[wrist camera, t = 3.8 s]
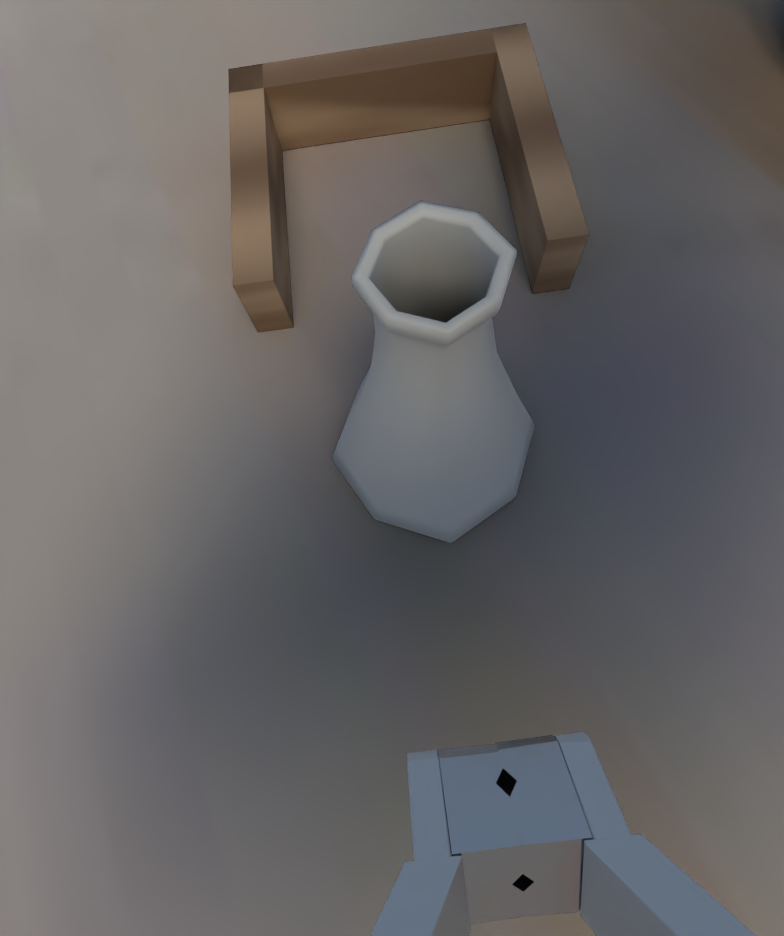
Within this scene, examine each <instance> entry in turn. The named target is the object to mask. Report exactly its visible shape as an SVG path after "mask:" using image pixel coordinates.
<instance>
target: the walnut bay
mask: <svg viewBox="0 0 784 936" xmlns="http://www.w3.org/2000/svg"><path fill="white" fill-rule="evenodd" d="M229 118H230V168H231V219H232V269H233V287H234V289H235V291H236V293H237V294H238V296H239V298H240V300H241V302H242V304H243V305H244V307H245V309H246V311H247V313H248V315H249V317H250V318H251V320H252V322H253V324H254V326H255V328H256V329H257V331H258V332H263V331H270V330H278V329H285V328H292V327H293V314H292V298H291V282H290V267H289V251H288V235H287V220H286V204H285V188H284V172H283V157H282V150H288V149H295V148H301V147H308V146H315V145H321V144H328V143H335V142H341V141H348V140H355V139H361V138H368V137H374V136H381V135H388V134H394V133H401V132H408V131H414V130H421V129H428V128H434V127H441V126H448V125H454V124H461V123H468V122H474V121H481V120H488V119H490V122H491V126H492V131H493V135H494V139H495V143H496V147H497V151H498V155H499V159H500V163H501V167H502V171H503V175H504V179H505V183H506V188H507V192H508V196H509V200H510V204H511V208H512V212H513V216H514V220H515V224H516V228H517V232H518V236H519V240H520V245H521V249H522V253H523V257H524V261H525V265H526V269H527V273H528V277H529V281H530V285H531V289H532V293H540V292H547V291H554V290H561V289H568V288H569V287H570V284H571V282H572V279H573V276H574V274H575V271H576V268H577V266H578V263H579V260H580V258H581V255H582V253H583V250H584V247H585V245H586V242H587V239H588V237H589V232H588V229H587V225H586V222H585V219H584V215H583V212H582V209H581V205H580V202H579V199H578V195H577V192H576V189H575V185H574V182H573V179H572V175H571V172H570V169H569V166H568V162H567V159H566V156H565V152H564V149H563V146H562V142H561V139H560V136H559V132H558V129H557V126H556V122H555V119H554V116H553V113H552V109H551V106H550V103H549V99H548V96H547V93H546V89H545V86H544V83H543V79H542V76H541V73H540V69H539V66H538V63H537V59H536V56H535V53H534V50H533V46H532V43H531V40H530V36H529V33H528V30H527V26H526V23H523V24H517V25H510V26H504V27H497V28H491V29H484V30H478V31H471V32H465V33H459V34H452V35H446V36H439V37H433V38H426V39H420V40H413V41H407V42H400V43H394V44H388V45H381V46H375V47H368V48H362V49H355V50H349V51H342V52H336V53H329V54H323V55H316V56H310V57H304V58H297V59H291V60H284V61H278V62H271V63H265V64H258V65H252V66H245V67H239V68H232V69H229Z"/></svg>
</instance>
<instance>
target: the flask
mask: <svg viewBox="0 0 784 936" xmlns="http://www.w3.org/2000/svg"><path fill="white" fill-rule="evenodd" d="M516 254H517V250H516V249H515V248H514V247H513V246H512V245H511V244H510V243H509V242H508V241H507V240H506V239H505V238H504V237H503V236H502V235H501V234H500V233H499V232H498V231H497V230H496V229H495V228H494V227H493V226H492V225H491V224H490V223H489V222H488V221H487V220H486V219H484V218H483V217H482V216H481V215H480V214H479V213H478V212H475V211H470V210H465V209H460V208H455V207H450V206H445V205H440V204H435V203H430V202H425V201H419V202H417V203H416V204H414V205H412V206H411V207H409V208H407V209H406V210H404V211H403V212H401V213H399V214H398V215H396V216H394V217H393V218H391V219H389V220H388V221H386V222H384V223H383V224H381V225H379V226H378V227H376V228H374V229H373V230H372V231H371V233H370V235H369V238H368V240H367V242H366V245H365V247H364V250H363V252H362V254H361V257H360V259H359V261H358V264H357V266H356V269H355V271H354V273H353V276H352V278H351V279H352V286H353V287H354V289H355V291H356V292H357V293H358V295H359V296H360V297H361V298H362V300H363V301H364V302H365V303H366V304H367V306H368V307H369V308H370V309H371V310H372V313H373V320H374V327H375V340H374V347H373V354H372V361H371V367H370V369H369V370H368V372H367V374H366V376H365V378H364V380H363V381H362V383H361V385H360V387H359V390H358V392H357V394H356V397H355V400H354V402H353V405H352V407H351V410H350V413H349V415H348V418H347V420H346V423H345V425H344V428H343V431H342V433H341V436H340V438H339V441H338V444H337V446H336V449H335V451H334V454H333V456H332V460H333V462H334V463H335V465H336V466H337V467H338V469H339V470H340V472H341V473H342V474H343V476H344V477H345V479H346V480H347V482H348V483H349V484H350V486H351V487H352V489H353V490H354V492H355V493H356V494H357V496H358V497H359V499H360V500H361V501H362V503H363V504H364V506H365V507H366V509H367V510H368V511H369V513H370V514H371V516H372V517H373V518H374V520H378V521H381V522H384V523H387V524H390V525H394V526H397V527H400V528H403V529H407V530H410V531H413V532H416V533H420V534H423V535H426V536H429V537H432V538H436V539H439V540H442V541H445V542H449V543H452V542H454V541H455V540H457V539H458V538H459V537H461V536H462V535H464V534H465V533H466V532H468V531H469V530H471V529H472V528H473V527H475V526H476V525H478V524H479V523H480V522H482V521H483V520H485V519H486V518H487V517H489V516H490V515H492V514H493V513H494V512H496V511H497V510H499V509H500V508H501V507H503V506H504V505H506V504H507V503H508V502H510V501H511V500H513V499H514V498H515V497H516V495H517V491H518V487H519V483H520V480H521V476H522V472H523V469H524V465H525V461H526V457H527V454H528V450H529V446H530V443H531V439H532V435H533V431H534V428H535V426H534V424H533V422H532V419H531V417H530V416H529V414H528V412H527V410H526V409H525V407H524V405H523V403H522V402H521V400H520V398H519V397H518V395H517V393H516V391H515V389H514V387H513V385H512V383H511V381H510V379H509V376H508V374H507V372H506V370H505V368H504V366H503V364H502V361H501V359H500V357H499V355H498V353H497V349H496V341H495V333H494V326H493V318H492V317H494V316H495V315H497V313H498V311H499V310H500V308H501V304H502V301H503V298H504V295H505V292H506V288H507V285H508V282H509V279H510V276H511V272H512V269H513V266H514V263H515V260H516Z"/></svg>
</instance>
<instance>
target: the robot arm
mask: <svg viewBox="0 0 784 936" xmlns="http://www.w3.org/2000/svg"><path fill="white" fill-rule="evenodd" d="M438 755H439V759H438ZM439 764H440V766H439ZM407 770H408V784H409V798H410V812H411V827H412V841H413V855H414V860H413V861H407V862H404V864H403V866H402V869H401V871H400V873H399V875H398V877H397V879H396V881H395V884H394V886H393V888H392V890H391V892H390V894H389V896H388V899H387V901H386V903H385V905H384V907H383V909H382V911H381V914H380V916H379V918H378V920H377V922H376V924H375V926H374V929H373V931H372V933H371V935H370V936H469V933H470V930H471V928H470V925H471V924H477V923H484V922H491V921H497V920H504V919H511V918H517V917H525V916H536V915H548V914H560V913H572V912H580V916H581V917H582V918H583V919H584V921H585V922H586V923H587V924H588V926H589V927H590V928H591V929H592V931H593V932H594V933H595V934H596V936H756V935H755V934H754V933H752V932H751V931H750V930H749V929H748V928H747V927H746V926H745V925H743V924H742V923H741V922H740V921H739V920H738V919H737V918H736V917H734V916H733V915H732V914H731V913H730V912H729V911H728V910H727V909H725V908H724V907H723V906H722V905H721V904H720V903H719V902H718V901H716V900H715V899H714V898H713V897H712V896H711V895H710V894H708V893H707V892H706V891H705V890H704V889H703V888H702V887H701V886H699V885H698V884H697V883H696V882H695V881H694V880H693V879H692V878H690V877H689V876H688V875H687V874H686V873H685V872H684V871H683V870H681V869H680V868H679V867H678V866H677V865H676V864H675V863H674V862H672V861H671V860H670V859H669V858H668V857H667V856H666V855H665V854H663V853H662V852H661V851H660V850H659V849H658V848H657V847H656V846H654V845H653V844H652V843H651V842H650V841H649V840H648V839H647V838H645V837H644V836H643V835H642V834H633V835H631V832H630V830H629V828H628V825H627V823H626V821H625V818H624V816H623V814H622V811H621V809H620V807H619V804H618V802H617V800H616V798H615V795H614V793H613V791H612V788H611V786H610V784H609V781H608V779H607V777H606V774H605V772H604V770H603V767H602V765H601V763H600V760H599V758H598V756H597V753H596V751H595V749H594V746H593V744H592V742H591V740H590V738H589V737H588V735H587V734H586V733H585V732H577V733H570V734H563V735H557V736H553V735H548V736H541V737H533V738H526V739H519V740H512V741H505V742H498V743H495V744H489V745H480V746H470V747H460V748H450V749H441V750H438V753H437V750H429V751H421V752H413V753H408V757H407ZM440 771H441V774H440ZM441 779H442V781H441ZM442 787H443V788H442ZM443 794H444V795H443Z"/></svg>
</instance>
